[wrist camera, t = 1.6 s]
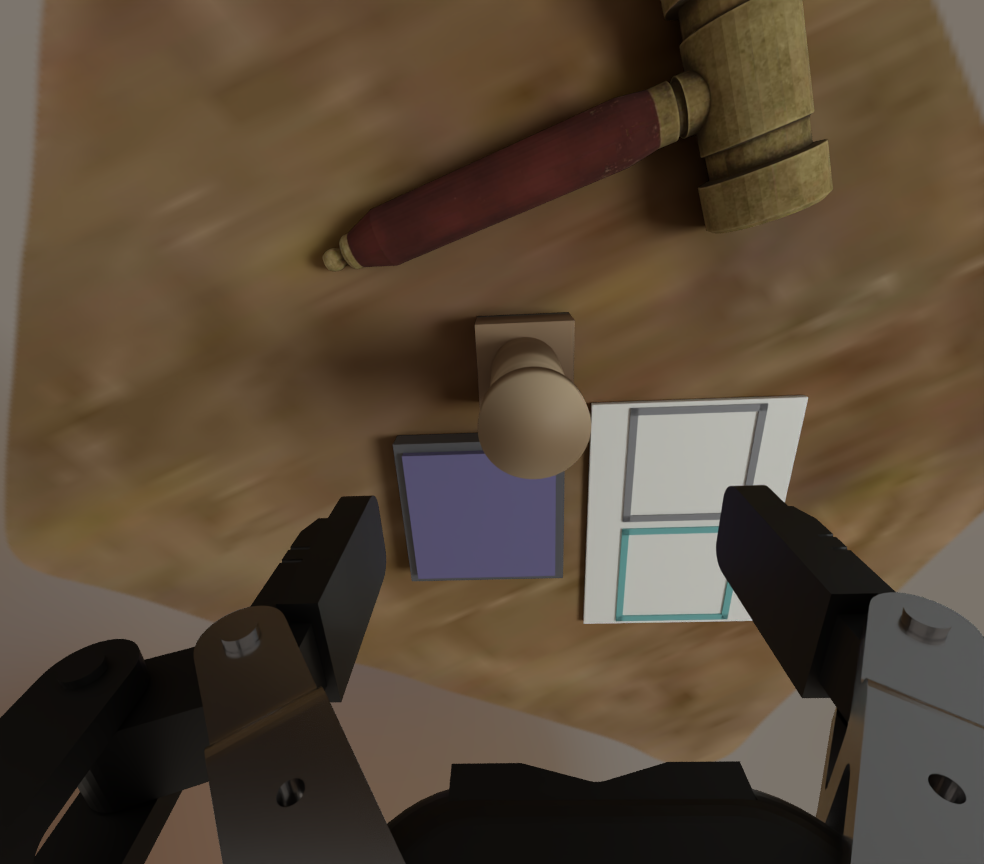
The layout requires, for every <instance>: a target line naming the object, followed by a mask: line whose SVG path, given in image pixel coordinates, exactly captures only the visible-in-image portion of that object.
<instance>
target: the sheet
mask: <svg viewBox="0 0 984 864" xmlns="http://www.w3.org/2000/svg"><path fill="white" fill-rule="evenodd" d="M807 401H808V397H807V396H805V395H797V396H770V397H742V398H714V399H686V400H658V401H630V402H603V403H591V434H590V450H589V477H588V504H587V532H586V559H585V586H584V613H583V621H584V624H596V623H652V622H707V621H753V620H752V619H751V617H750V616H749V614H748V613H747V611H746V609H745V608H744V606H743V605H742V603H741V602H740V600H739V598H738V597H737V595H736V594H735V592H734V591H733V589H732V588H731V586H730V584H729V583H728V581H727V580H726V578H725V577H724V575H723V573H722V572H721V570H720V567H719V565H718V561H717V556H716V541H717V534H718V528H719V522H720V515H721V509H722V503H723V497H724V493H725V490H726V489H727V487H729V486H744V485H766V486H768V487H769V488H770V489H771V490H772V491H773V492H774V493H775V494H776V495H777V496H778V497H779V498H780V499H781V500H782V501H783V502H784V503H785V499H786V494H787V490H788V485H789V481H790V477H791V472H792V468H793V463H794V459H795V454H796V450H797V445H798V441H799V436H800V432H801V428H802V423H803V419H804V414H805V410H806V405H807Z"/></svg>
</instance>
